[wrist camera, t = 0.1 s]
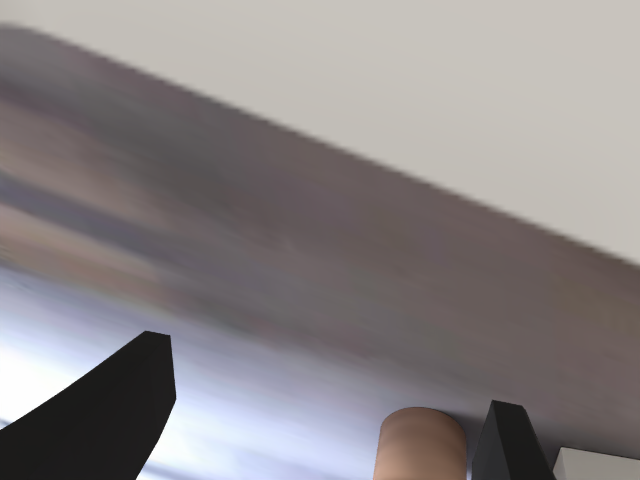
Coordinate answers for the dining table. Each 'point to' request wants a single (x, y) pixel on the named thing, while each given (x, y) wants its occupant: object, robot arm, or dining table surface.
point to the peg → (420, 447)
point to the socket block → (594, 466)
